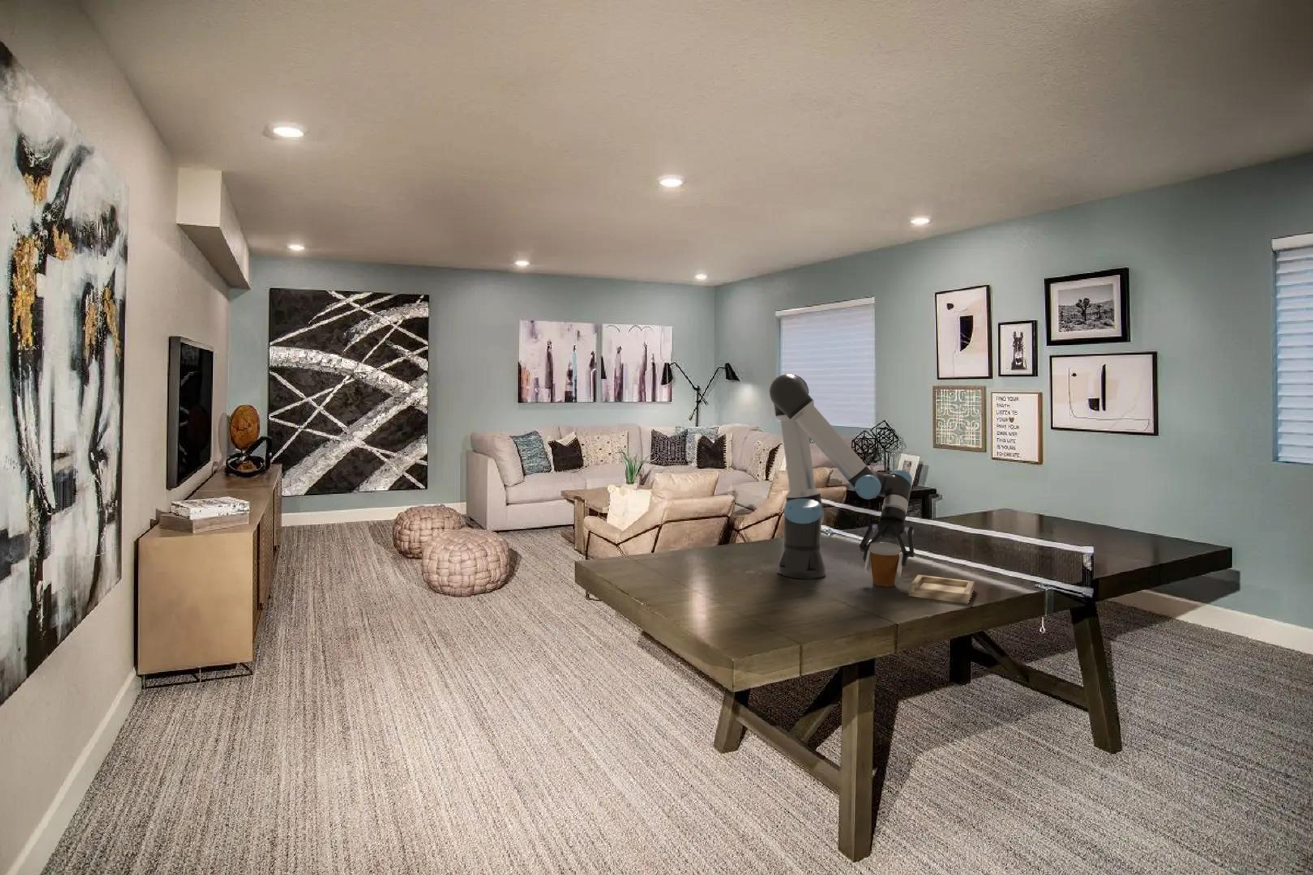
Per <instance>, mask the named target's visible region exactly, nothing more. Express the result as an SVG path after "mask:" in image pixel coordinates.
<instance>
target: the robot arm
mask: <svg viewBox="0 0 1313 875" xmlns="http://www.w3.org/2000/svg"><path fill="white" fill-rule="evenodd" d="M768 393H769V397H770V399H771V400H770V401H771V402H772V403H773V407H774V412H775V414H774V415H775V418H776V419H778V420H779V421H780V426H781V433H782V440H783V442H782V443H783V448H784V455H785V465H786V472H787V480H788V488H789V491H788V492H787V494H786V495H785V499H786V503H785V504H784V509H783V514H784V520H783V521H784V524H783V525H784V526H783V527H784V528H783V531H784V532H783V550H782V553H781V556H780V558H779V562H778V566H777V574H779V575H781V574H782V576H784V577H787V578H793V579H800V580H802V579H803V580H810V579H811V580H812V579H819V578H824V577H825V576H826V573H827V572H826V571H827V570H826V569H827V568H826V564H825V562H824V558H823V554H822V552H821V545H822V544H821V543H822V542H821V540H822V539H821V538H822V525H823V523H824V520H825V514H826V513H825V509H824V507H823V501H822V496H821V491H820V490H819V489H817V488H816V485H815V484H816V483H815V476H814V466H813V461H812V453H811V452H812V451H811V445H810V439H811V441H812V442H813V443H814V444H815V445H816V446H817V447H818V449H820V451H821V452H822V453H823V454H824V456H826V457H827V458H828V460H829V461H830V462H831V463H832V465H833V466H834V467H836V469H837V470H838V471H839V473H841V475H842V476H843V477H844V478H845V479H846V481H848V486H849V489H853V490H855V493H856V494H857V495H858V497H860V498H862V499H865V500H871V499H874V498H876V497H878V496H879V497H883V498H884V499H883V504H882V510H881V513H880V517H879V518H880V519H879V521H878V523H877V524H876V523H875V524H873V523H872V522H869V523H868V525H867V526H868V528H867V530H866V532H865V534H864V536H863V538H862V539H861V542H860V544H859V546H858V547H859V550H860V552H862V553H863V555H862V556H863V557H862V558H863V562H864V563H865V564H864V572H865V573H867V574H868V573H869V570H870V564H871V555H870V551H869V547H870V544H871V543H875V542H882V541H883V540H884V539H885V538H886V539H888V538H889V539H895V540H896V541H897V543H898V544H897V545H899V546H900V550H901V553H900V554H899V560H898V565H897V571H896V575H897V577H898V578H901V576H902V570H903V567H906V566H907V562H908V558H915V549H914V548H915V547H914V539H913V536H914V533H915V532H914V531H915V530H914V527H913V526H912V525H911V526H909V527H907V526H905V523H906V517H907V512H908V509H909V508H908V507H909V502H910V501H909V500H910V498H911V497H910V496H911V492H912V485H913V484H912V482H913V478H912V475H911V473H909V472H908V471H907V470H903V469H898V470H897V469H893V470H892V471H890V473H889V474H888V473H884V472H883V473H882V472H879V471H874V470H872V469H870V468H869V467H868V466H867V465H866V463H865V462H864V461H863V460H862V458H860V457H859V456H858V454H857V453H856V452H855V450H853V449H852V447H851V446H850V445H849V444H848V442H846V440H845V439H844V438H843V437H842V436H841V435H840V433H838V431H837V430H836V429H835V428H834V427H833V426H832V425H831V423H830V422H829V421H828V420H827V419H826V417H824V415H823V414H822V413H821V412H820V411H819V410H818V408H817V407H815V400H814V399H813V398H812V397H811V396H810V395H809V393H810V390H809V386H808V383H807V382H806V381H805V380H804V379H803V378H802V377H801V376H799V375H796V374H791V373H790V374H789V373H784V374H781V375H779V376H777V377H776V378H775V379H774V380H773V381H772V382H771V384H770V386H769V392H768ZM877 529H878V531H877V533H876V534H875V535H874V536H873V534H874V532H876V530H877ZM904 532H905V535H907V541H908V550H907V548H906V546H905V544H904V541H903V538H902V537H901V534H903V533H904ZM872 537H873V538H872ZM871 538H872V539H871Z"/></svg>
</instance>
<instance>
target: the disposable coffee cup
mask: <svg viewBox="0 0 1313 875" xmlns="http://www.w3.org/2000/svg"><path fill="white" fill-rule="evenodd" d="M869 551H870V555H871V561H870V564H871V575H872V584H873V585H876V586H879V587H893V586H895V582H896V577H897V568H898V563H899V558H900V554H901V553H902V551H901V549H900V546H899V544H897V543H892V542H885V541H884V542H883V541H880V542H875V543H871V544H870V547H869Z"/></svg>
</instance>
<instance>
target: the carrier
mask: <svg viewBox="0 0 1313 875" xmlns="http://www.w3.org/2000/svg"><path fill="white" fill-rule="evenodd" d="M973 591H975V580H973V581H972V580H963V579H957V578H948V577H940V576H932V575H922V574H917V575H916V577H915V578H914V579H913V580H912V582H911V584H910V585H909V586H908V597H914V598H922V599H929V600H936V601H937V600H938V601H944V602H951V603H952V602H953V603H959V604H964V605H965V604H967V605H968V603H970V601H971V599H972V596H973V594H974V592H973ZM972 593H973V594H972ZM970 598H971V599H970ZM969 600H970V601H969Z"/></svg>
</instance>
